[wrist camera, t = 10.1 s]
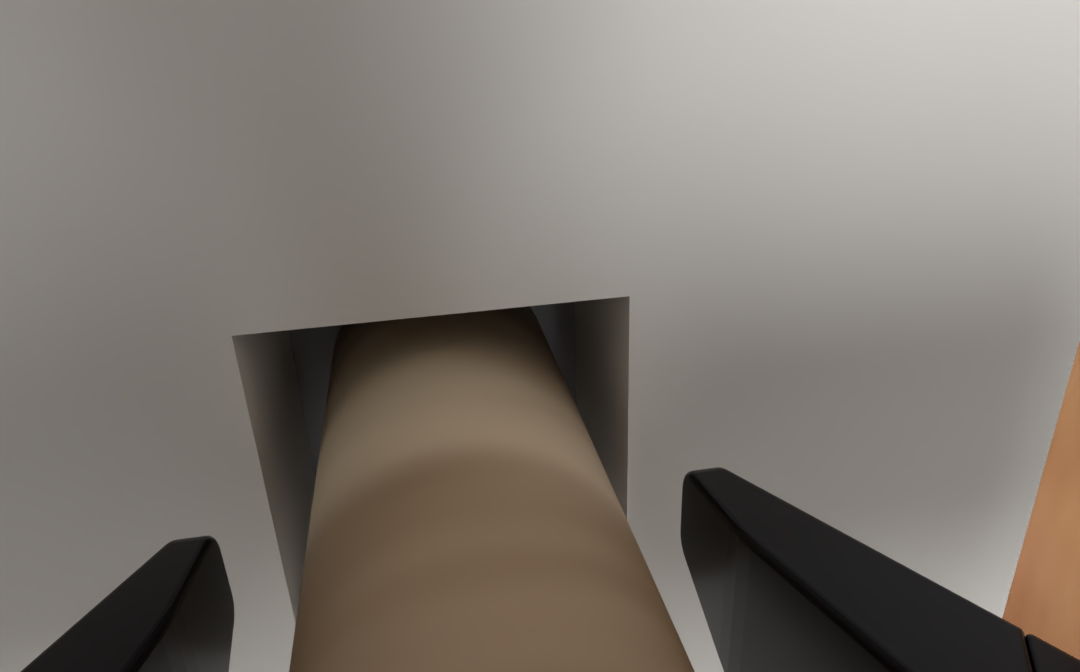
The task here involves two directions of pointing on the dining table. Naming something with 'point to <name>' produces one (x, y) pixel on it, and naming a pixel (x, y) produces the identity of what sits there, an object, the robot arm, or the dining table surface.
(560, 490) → the oak peg
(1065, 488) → the dining table surface
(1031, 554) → the dining table surface
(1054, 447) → the dining table surface
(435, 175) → the socket block
